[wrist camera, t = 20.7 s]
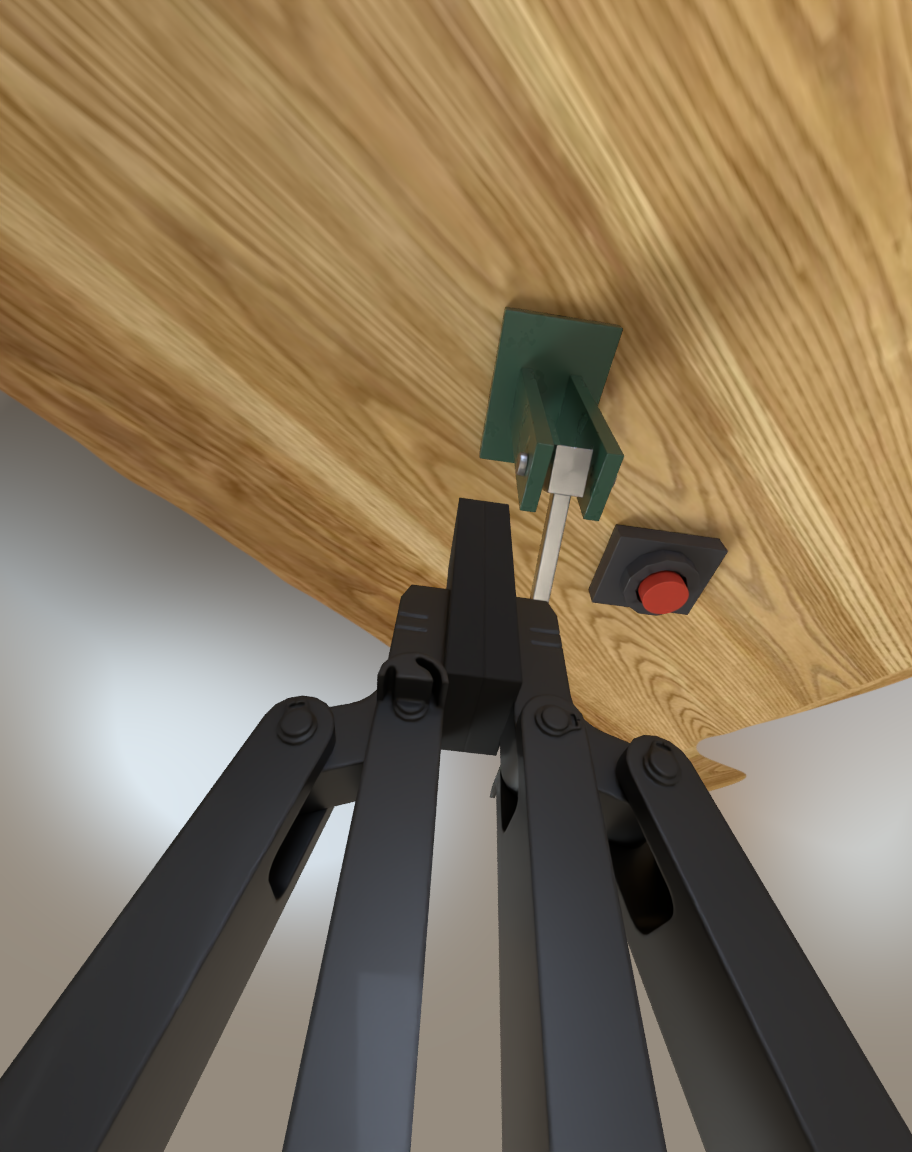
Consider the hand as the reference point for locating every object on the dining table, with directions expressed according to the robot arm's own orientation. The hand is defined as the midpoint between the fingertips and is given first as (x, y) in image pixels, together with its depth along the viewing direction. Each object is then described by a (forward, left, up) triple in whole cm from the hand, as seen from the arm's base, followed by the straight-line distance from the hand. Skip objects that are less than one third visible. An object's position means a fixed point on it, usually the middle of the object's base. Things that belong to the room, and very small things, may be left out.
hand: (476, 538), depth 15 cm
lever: (+6, -11, -13) cm, 18 cm away
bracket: (+6, -4, -28) cm, 29 cm away
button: (+22, -20, -25) cm, 39 cm away
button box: (+22, -20, -28) cm, 41 cm away
